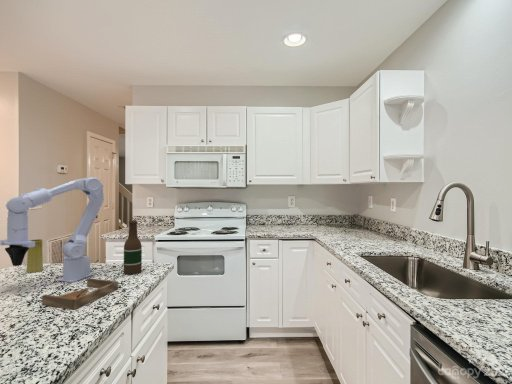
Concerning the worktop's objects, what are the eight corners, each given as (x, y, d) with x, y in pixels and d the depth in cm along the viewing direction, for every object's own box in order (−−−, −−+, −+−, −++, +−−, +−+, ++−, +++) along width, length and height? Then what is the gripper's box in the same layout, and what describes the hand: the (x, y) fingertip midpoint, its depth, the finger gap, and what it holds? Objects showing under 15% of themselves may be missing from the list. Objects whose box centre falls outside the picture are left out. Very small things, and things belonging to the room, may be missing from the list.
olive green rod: (35, 268, 125) (35, 238, 125) (46, 269, 124) (47, 239, 124) (22, 272, 119) (22, 241, 119) (34, 273, 118) (34, 241, 118)
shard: (89, 291, 99) (89, 286, 99) (98, 296, 94) (98, 291, 94) (54, 301, 90) (54, 296, 90) (62, 307, 86) (62, 301, 86)
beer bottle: (136, 269, 126) (136, 219, 126) (145, 272, 122) (145, 220, 122) (119, 273, 120) (120, 220, 120) (128, 276, 115) (129, 222, 115)
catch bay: (89, 285, 103) (89, 278, 103) (117, 289, 100) (118, 281, 100) (42, 304, 86) (42, 295, 86) (75, 309, 83) (75, 300, 83)
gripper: (-10, 229, 96) (-10, 266, 96) (20, 231, 92) (19, 270, 92) (12, 227, 103) (12, 261, 103) (41, 228, 99) (40, 264, 99)
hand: (17, 265), depth 98 cm, fingers closed
